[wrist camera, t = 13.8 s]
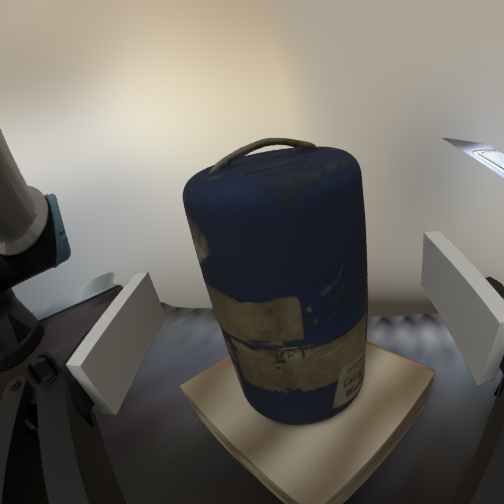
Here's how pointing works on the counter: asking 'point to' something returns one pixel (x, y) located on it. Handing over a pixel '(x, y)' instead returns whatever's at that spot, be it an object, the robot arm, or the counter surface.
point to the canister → (286, 273)
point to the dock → (315, 429)
